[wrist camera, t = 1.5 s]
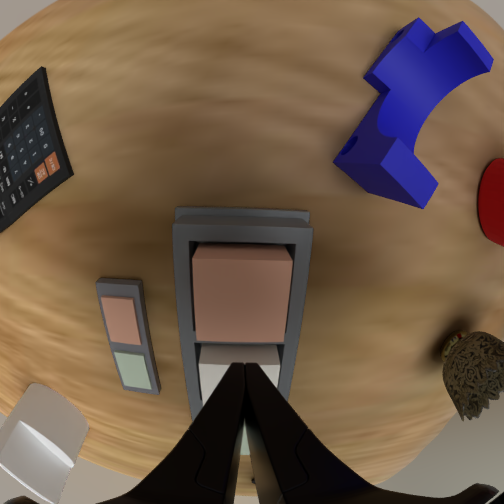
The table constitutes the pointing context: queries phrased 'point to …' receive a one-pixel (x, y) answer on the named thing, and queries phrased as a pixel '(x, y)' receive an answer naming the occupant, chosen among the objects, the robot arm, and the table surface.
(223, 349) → the cream key
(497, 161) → the soda can
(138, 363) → the strip
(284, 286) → the terracotta key
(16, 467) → the cylinder with rectangular tab
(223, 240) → the keypad
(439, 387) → the table surface
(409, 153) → the cable clip
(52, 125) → the calculator
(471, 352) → the cup
